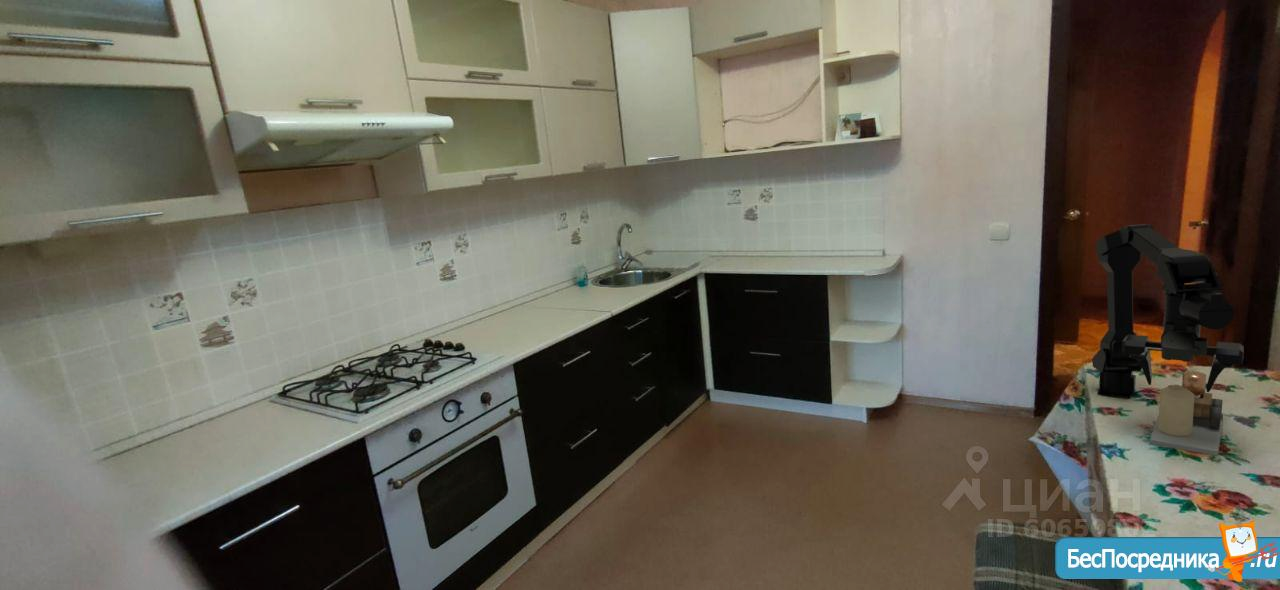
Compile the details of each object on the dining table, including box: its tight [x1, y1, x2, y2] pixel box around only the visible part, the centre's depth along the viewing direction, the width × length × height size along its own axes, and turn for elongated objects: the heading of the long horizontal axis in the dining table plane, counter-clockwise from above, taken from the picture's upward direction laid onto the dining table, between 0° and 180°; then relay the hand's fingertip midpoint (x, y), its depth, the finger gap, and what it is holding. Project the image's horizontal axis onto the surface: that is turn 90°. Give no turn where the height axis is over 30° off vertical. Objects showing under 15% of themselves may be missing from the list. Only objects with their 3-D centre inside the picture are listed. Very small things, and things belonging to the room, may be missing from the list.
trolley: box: [1193, 392, 1224, 429], centre depth 136 cm, size 9×9×5 cm
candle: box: [1158, 384, 1194, 436], centre depth 132 cm, size 6×6×10 cm
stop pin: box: [1181, 370, 1207, 398], centre depth 136 cm, size 4×4×9 cm
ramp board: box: [1149, 412, 1224, 457], centre depth 133 cm, size 10×18×2 cm, turn 135°
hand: (1178, 387), depth 130 cm, fingers open, 9 cm apart
